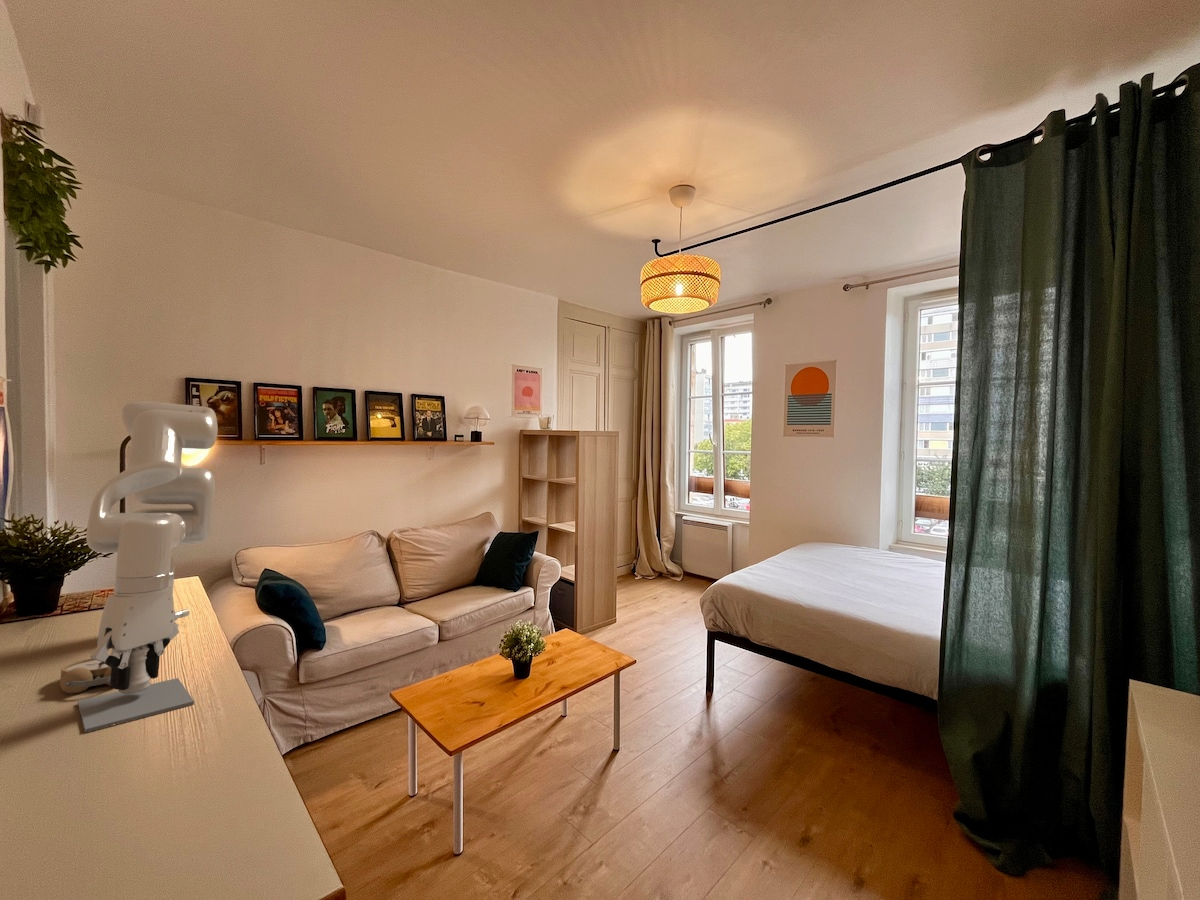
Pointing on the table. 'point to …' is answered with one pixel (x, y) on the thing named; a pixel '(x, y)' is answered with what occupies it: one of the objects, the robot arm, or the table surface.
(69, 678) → the alarm clock
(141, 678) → the rook chess piece
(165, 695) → the mat
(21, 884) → the table surface
